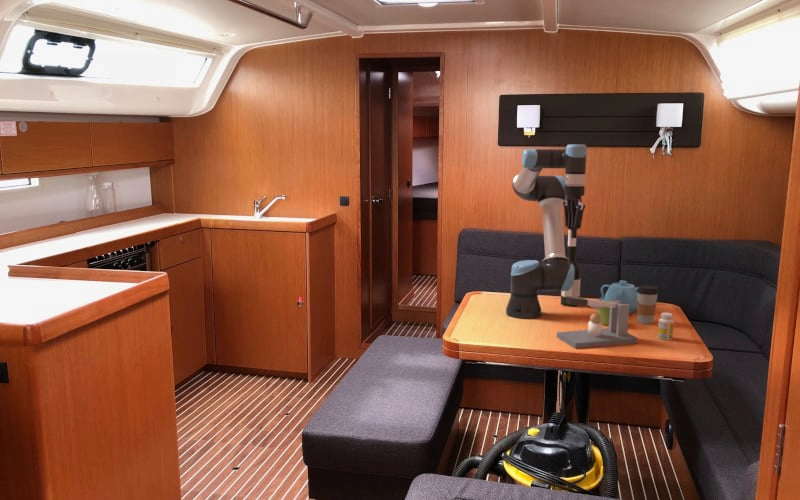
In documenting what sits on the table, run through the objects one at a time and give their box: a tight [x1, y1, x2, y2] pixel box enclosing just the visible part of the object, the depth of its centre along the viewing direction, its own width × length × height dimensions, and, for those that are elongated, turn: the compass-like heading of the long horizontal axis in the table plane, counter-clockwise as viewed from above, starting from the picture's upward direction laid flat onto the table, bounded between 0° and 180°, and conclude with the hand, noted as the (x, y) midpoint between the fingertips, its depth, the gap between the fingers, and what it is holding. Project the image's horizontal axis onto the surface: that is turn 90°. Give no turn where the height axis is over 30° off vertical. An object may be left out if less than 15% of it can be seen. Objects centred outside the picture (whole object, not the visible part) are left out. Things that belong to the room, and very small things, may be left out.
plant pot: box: [597, 301, 611, 327], centre depth 265 cm, size 9×9×9 cm
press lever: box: [565, 296, 621, 310], centre depth 241 cm, size 4×23×3 cm, turn 104°
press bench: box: [556, 301, 639, 349], centre depth 242 cm, size 14×26×14 cm, turn 104°
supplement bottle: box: [657, 312, 675, 341], centre depth 246 cm, size 5×5×10 cm
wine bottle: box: [560, 241, 582, 308], centre depth 294 cm, size 8×8×30 cm
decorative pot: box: [598, 279, 638, 315], centre depth 285 cm, size 16×16×14 cm
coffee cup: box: [636, 284, 659, 325], centre depth 267 cm, size 8×8×15 cm
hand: (571, 246), depth 249 cm, fingers closed
